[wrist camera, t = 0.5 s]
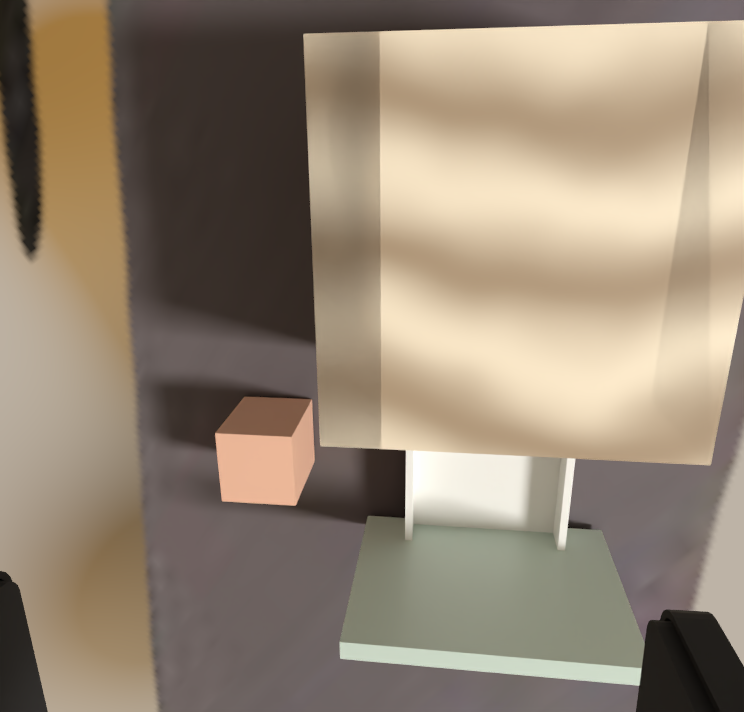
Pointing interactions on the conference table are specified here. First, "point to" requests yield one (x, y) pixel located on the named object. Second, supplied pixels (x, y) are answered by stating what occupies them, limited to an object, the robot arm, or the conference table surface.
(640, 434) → the beige brown striped box
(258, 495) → the block
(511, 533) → the mint green drawer
